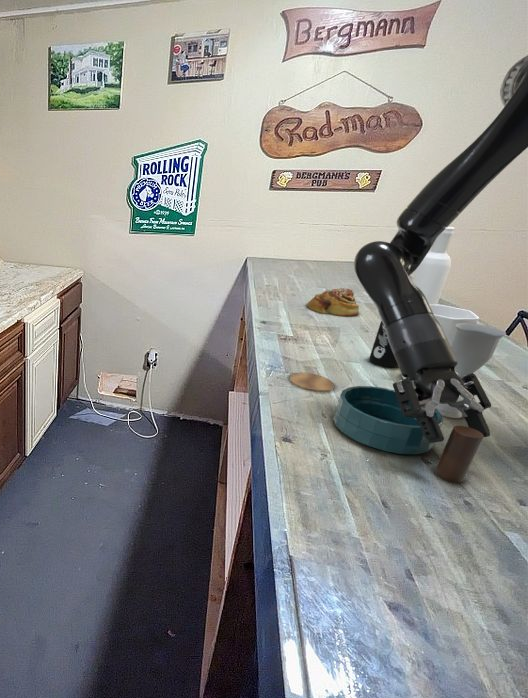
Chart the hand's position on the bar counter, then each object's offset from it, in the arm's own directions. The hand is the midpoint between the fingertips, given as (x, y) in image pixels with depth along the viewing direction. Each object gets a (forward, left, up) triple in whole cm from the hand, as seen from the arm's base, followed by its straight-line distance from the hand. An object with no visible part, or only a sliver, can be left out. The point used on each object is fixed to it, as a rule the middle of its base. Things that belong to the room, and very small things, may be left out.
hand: (460, 439), depth 72 cm
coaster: (+16, -30, -7) cm, 34 cm away
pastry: (+1, -95, -7) cm, 95 cm away
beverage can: (-3, -49, -7) cm, 49 cm away
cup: (-8, -40, -7) cm, 41 cm away
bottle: (-19, -84, -7) cm, 86 cm away
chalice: (-8, -25, -7) cm, 27 cm away
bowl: (+7, -11, -7) cm, 14 cm away
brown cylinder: (0, 0, -7) cm, 7 cm away
